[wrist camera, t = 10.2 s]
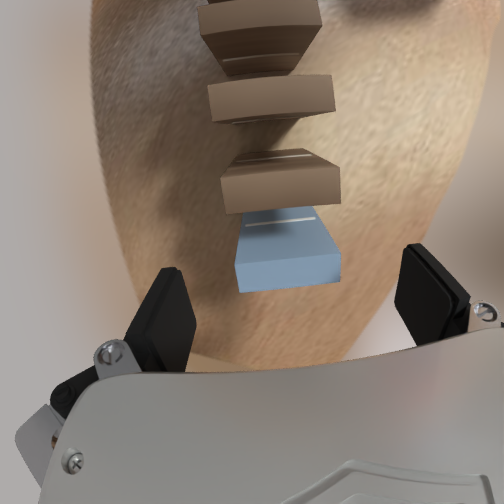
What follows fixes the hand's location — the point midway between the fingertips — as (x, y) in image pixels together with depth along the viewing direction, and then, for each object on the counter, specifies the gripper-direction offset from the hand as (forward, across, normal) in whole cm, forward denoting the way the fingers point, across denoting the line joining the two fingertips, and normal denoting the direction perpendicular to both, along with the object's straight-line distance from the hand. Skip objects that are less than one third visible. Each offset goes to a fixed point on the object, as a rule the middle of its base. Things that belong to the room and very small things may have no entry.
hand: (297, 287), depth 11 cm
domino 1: (+12, 0, -11) cm, 17 cm away
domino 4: (+12, 0, +1) cm, 12 cm away
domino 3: (+12, 0, -3) cm, 13 cm away
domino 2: (+12, 0, -7) cm, 14 cm away
